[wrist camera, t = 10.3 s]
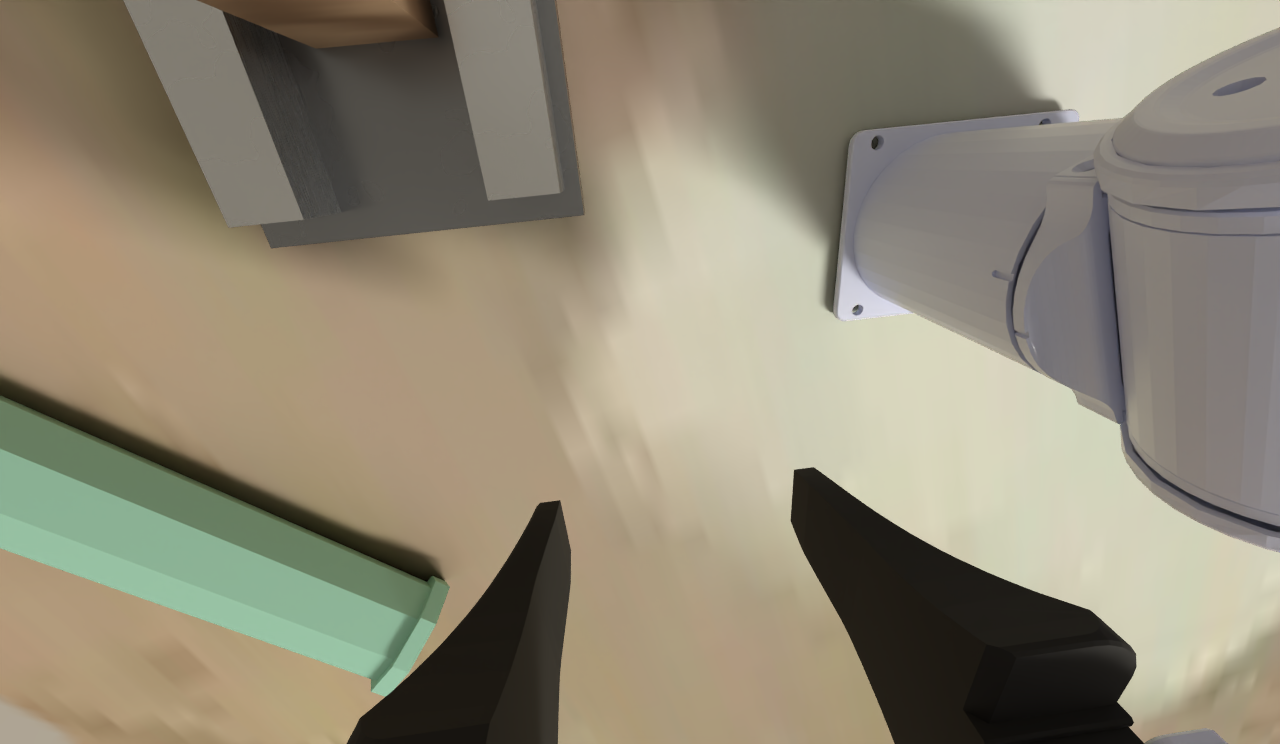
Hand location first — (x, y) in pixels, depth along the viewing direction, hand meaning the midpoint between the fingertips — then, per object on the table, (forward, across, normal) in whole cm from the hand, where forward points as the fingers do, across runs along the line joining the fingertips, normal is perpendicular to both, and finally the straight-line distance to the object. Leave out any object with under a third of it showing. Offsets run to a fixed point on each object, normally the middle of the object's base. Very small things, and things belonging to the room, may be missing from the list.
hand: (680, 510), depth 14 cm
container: (+10, +23, +4) cm, 25 cm away
